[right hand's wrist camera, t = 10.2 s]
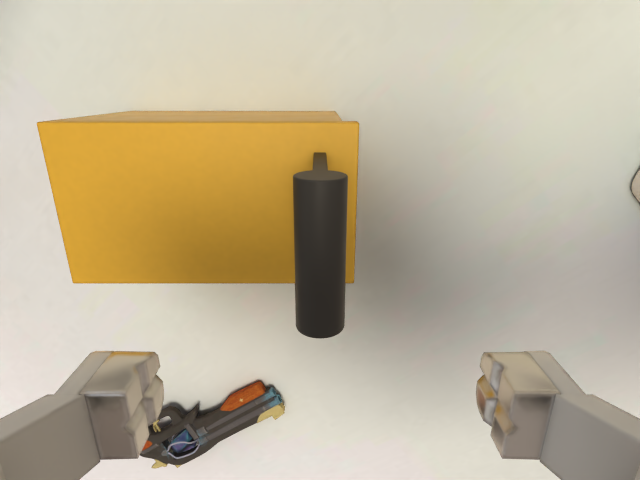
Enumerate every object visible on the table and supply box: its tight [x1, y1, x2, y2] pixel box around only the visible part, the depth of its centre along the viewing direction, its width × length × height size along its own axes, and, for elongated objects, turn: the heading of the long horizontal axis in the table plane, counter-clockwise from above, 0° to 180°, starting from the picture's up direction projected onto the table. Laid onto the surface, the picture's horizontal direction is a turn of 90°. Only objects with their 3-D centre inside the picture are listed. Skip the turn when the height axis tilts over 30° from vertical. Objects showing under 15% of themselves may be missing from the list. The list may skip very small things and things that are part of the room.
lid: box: [37, 121, 359, 338], centre depth 21 cm, size 18×10×9 cm, turn 90°
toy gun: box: [140, 381, 285, 468], centre depth 43 cm, size 3×19×10 cm
